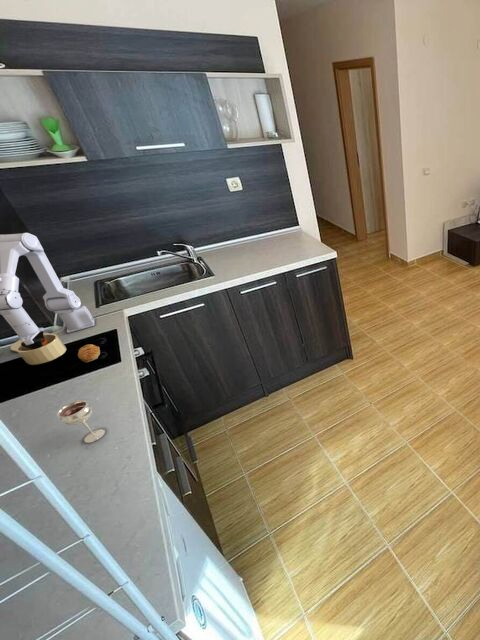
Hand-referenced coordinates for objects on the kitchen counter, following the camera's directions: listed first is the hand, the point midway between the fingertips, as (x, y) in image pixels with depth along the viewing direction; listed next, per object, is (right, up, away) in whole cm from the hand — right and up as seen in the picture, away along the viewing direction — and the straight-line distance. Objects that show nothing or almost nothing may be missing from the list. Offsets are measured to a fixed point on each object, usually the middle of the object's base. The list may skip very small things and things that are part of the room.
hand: (43, 350), depth 139 cm
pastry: (+19, -2, +1) cm, 19 cm away
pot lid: (-14, +3, +8) cm, 16 cm away
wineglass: (+53, -24, -33) cm, 67 cm away
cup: (0, -1, +1) cm, 1 cm away
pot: (0, -2, +1) cm, 2 cm away
